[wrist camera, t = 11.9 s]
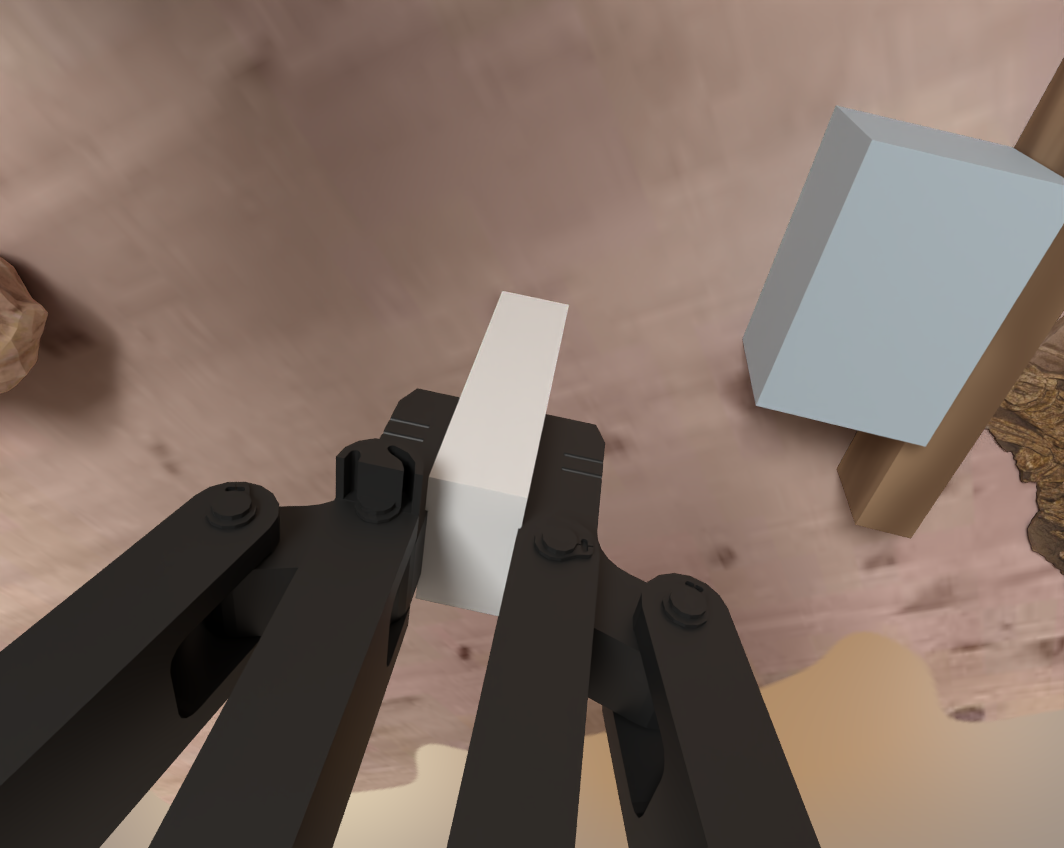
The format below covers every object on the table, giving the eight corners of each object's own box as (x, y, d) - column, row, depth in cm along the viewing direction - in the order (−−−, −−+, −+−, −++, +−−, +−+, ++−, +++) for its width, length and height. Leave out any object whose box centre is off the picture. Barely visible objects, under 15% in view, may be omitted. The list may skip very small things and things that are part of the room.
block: (742, 337, 40) (755, 405, 34) (835, 104, 33) (872, 139, 27) (887, 372, 40) (925, 446, 34) (1010, 145, 33) (1084, 190, 27)
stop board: (836, 468, 43) (855, 524, 39) (1156, -111, 28) (1244, -120, 23) (886, 481, 43) (910, 538, 39) (1236, -92, 27) (1338, -98, 23)
